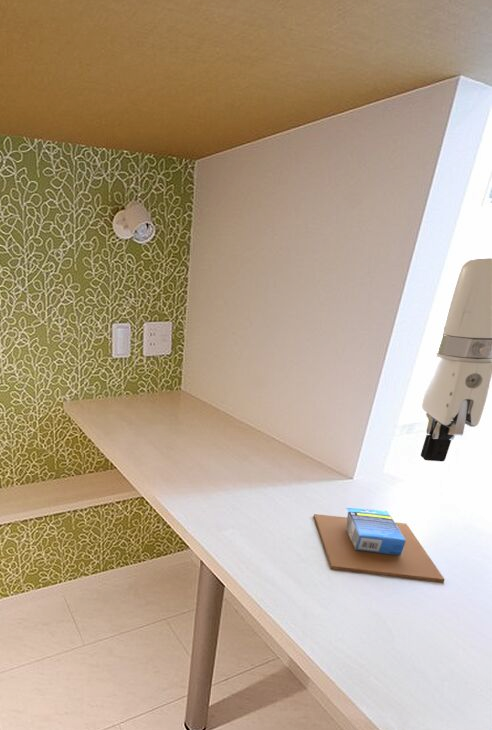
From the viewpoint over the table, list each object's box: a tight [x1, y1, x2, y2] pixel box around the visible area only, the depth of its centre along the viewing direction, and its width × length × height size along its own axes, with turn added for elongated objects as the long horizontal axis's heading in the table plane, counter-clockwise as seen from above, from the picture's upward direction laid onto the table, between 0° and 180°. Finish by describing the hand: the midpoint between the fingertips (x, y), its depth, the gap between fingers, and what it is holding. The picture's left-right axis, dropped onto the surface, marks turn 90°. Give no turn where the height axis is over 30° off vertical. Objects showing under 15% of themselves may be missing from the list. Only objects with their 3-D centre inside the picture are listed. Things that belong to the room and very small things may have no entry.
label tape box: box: [345, 507, 406, 556], centre depth 92 cm, size 9×4×12 cm
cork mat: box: [313, 513, 446, 583], centre depth 91 cm, size 20×20×1 cm
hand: (432, 458), depth 74 cm, fingers closed
